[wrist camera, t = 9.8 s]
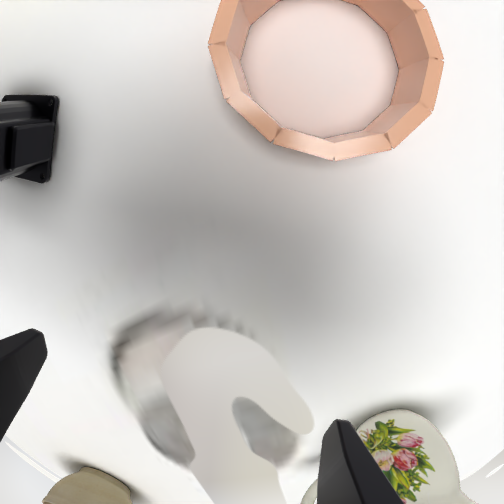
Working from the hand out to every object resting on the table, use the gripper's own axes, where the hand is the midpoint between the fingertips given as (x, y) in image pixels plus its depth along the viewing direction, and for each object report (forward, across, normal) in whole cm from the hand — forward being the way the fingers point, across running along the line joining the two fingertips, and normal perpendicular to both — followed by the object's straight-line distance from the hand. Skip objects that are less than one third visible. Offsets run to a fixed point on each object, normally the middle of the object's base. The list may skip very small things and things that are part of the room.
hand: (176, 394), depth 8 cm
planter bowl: (+13, +14, +49) cm, 53 cm away
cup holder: (+13, -2, -11) cm, 17 cm away
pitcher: (+13, -18, +17) cm, 28 cm away
